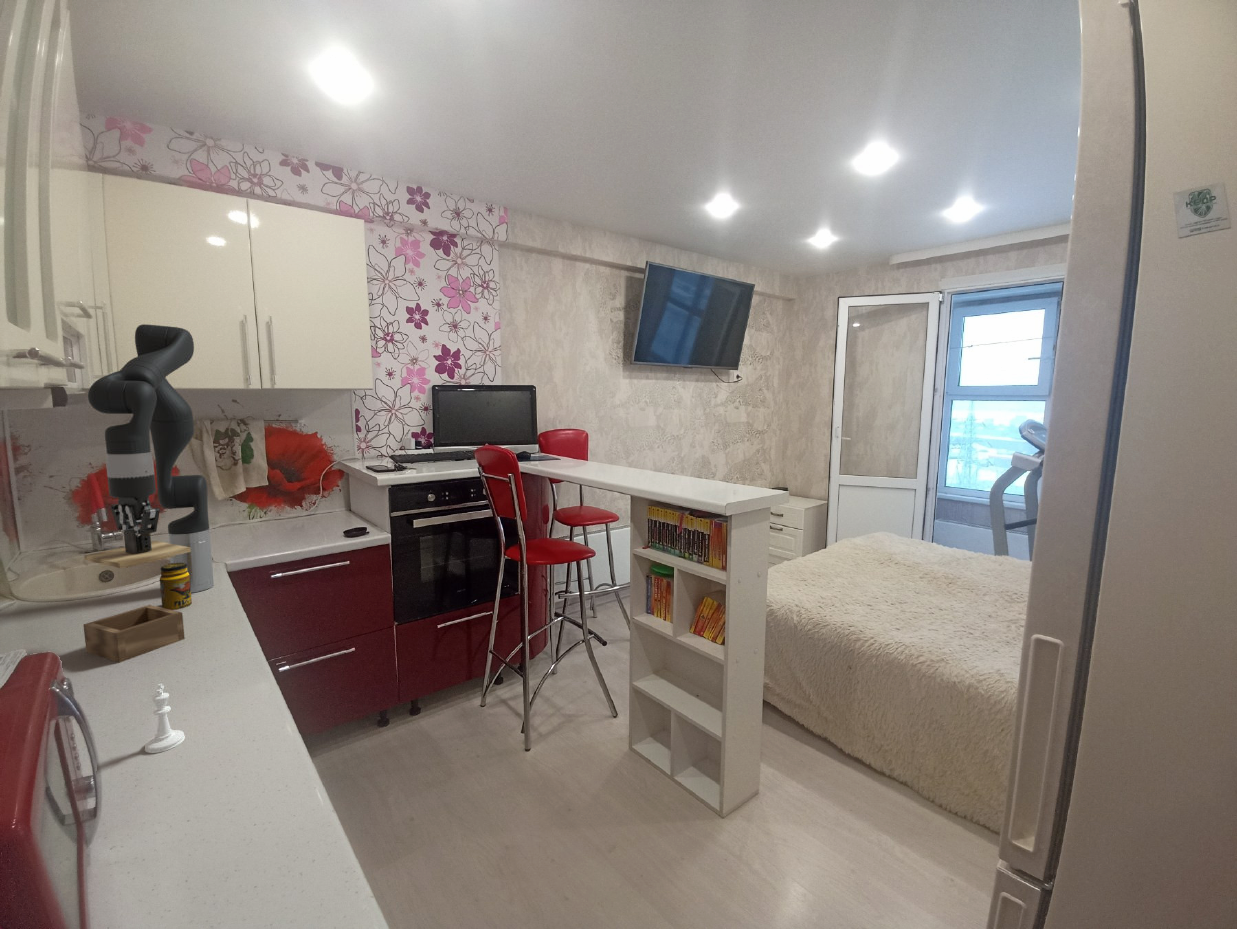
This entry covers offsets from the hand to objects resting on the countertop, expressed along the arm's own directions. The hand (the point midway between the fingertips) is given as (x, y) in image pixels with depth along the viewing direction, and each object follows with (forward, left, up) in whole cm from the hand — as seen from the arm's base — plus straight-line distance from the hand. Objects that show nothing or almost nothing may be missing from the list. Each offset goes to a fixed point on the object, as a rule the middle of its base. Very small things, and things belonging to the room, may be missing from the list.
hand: (138, 550), depth 117 cm
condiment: (-18, +15, -22) cm, 32 cm away
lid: (0, 0, -1) cm, 1 cm away
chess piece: (+43, -20, -22) cm, 53 cm away
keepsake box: (0, -2, -22) cm, 22 cm away
